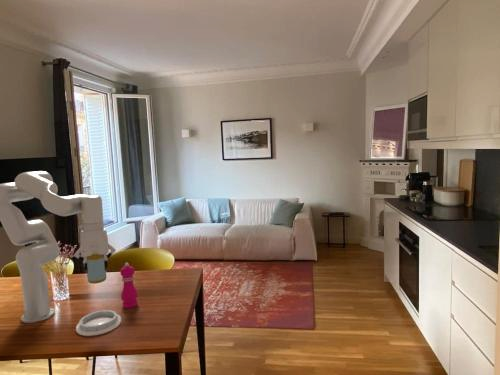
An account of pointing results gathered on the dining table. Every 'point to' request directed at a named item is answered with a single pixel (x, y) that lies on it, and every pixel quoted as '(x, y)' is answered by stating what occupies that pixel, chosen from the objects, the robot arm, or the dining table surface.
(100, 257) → the bottle
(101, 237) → the robot arm
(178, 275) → the dining table surface
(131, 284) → the pepper mill
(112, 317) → the collar base
